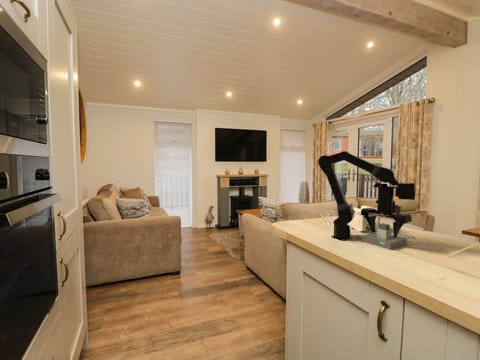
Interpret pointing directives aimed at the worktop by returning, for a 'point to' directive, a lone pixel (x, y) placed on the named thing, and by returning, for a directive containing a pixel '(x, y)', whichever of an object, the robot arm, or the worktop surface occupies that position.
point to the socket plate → (384, 241)
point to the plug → (384, 231)
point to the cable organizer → (362, 220)
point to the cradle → (406, 236)
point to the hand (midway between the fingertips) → (384, 234)
